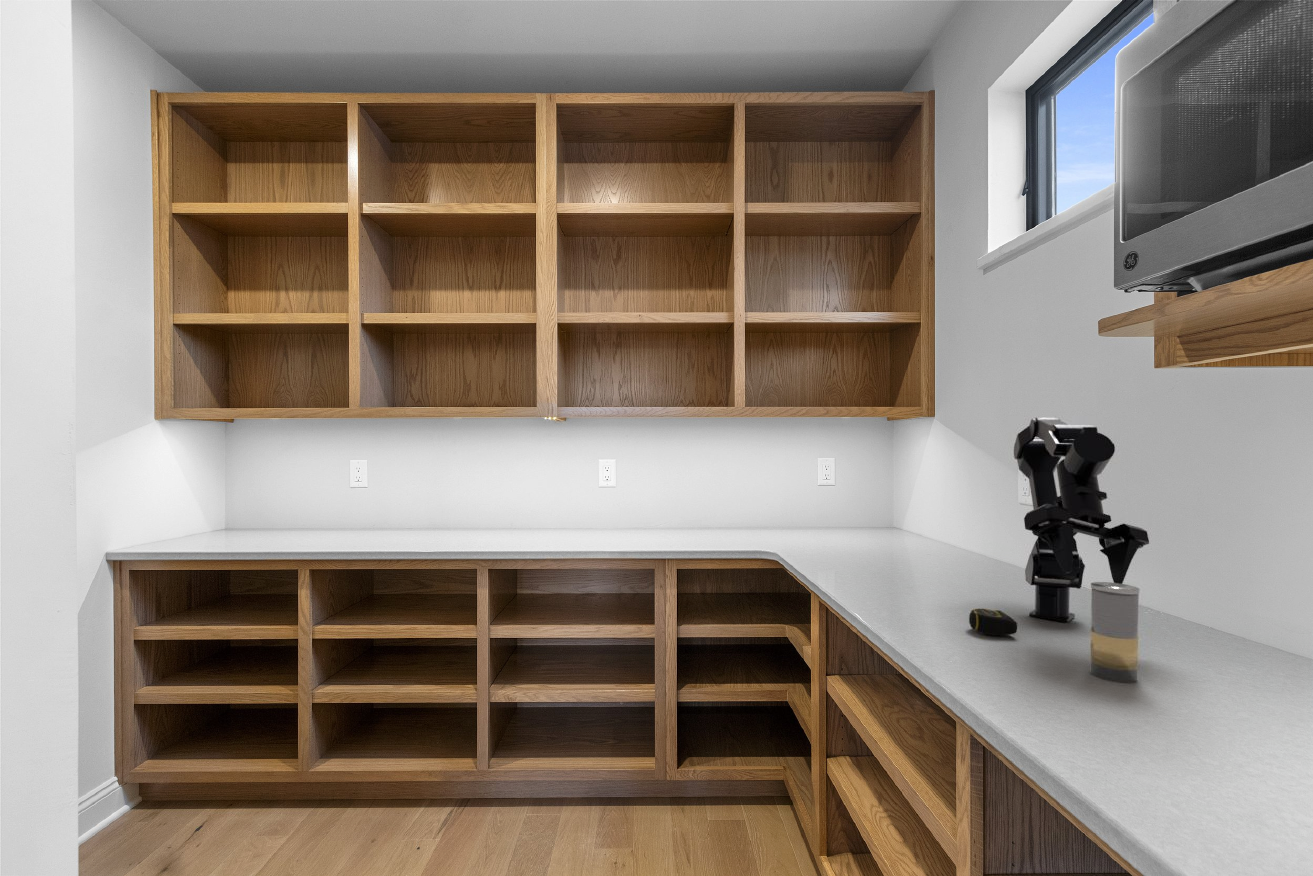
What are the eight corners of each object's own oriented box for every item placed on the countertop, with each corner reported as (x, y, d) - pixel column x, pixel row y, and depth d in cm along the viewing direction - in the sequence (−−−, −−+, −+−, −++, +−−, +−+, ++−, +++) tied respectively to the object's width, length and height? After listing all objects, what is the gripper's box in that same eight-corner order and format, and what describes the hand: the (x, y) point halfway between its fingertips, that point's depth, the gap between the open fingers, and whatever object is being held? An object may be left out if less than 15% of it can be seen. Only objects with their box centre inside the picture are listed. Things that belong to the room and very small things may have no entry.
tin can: (1094, 666, 100) (1095, 580, 100) (1141, 676, 96) (1142, 586, 96) (1085, 675, 96) (1086, 586, 96) (1134, 686, 92) (1135, 593, 92)
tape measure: (1018, 640, 113) (1019, 618, 113) (976, 638, 114) (977, 616, 114) (1003, 629, 120) (1003, 608, 120) (963, 626, 121) (964, 606, 121)
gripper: (1089, 518, 121) (1103, 602, 113) (998, 494, 118) (1006, 578, 111) (1142, 496, 111) (1161, 587, 104) (1044, 470, 109) (1056, 560, 101)
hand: (1093, 578), depth 105 cm, fingers open, 9 cm apart
